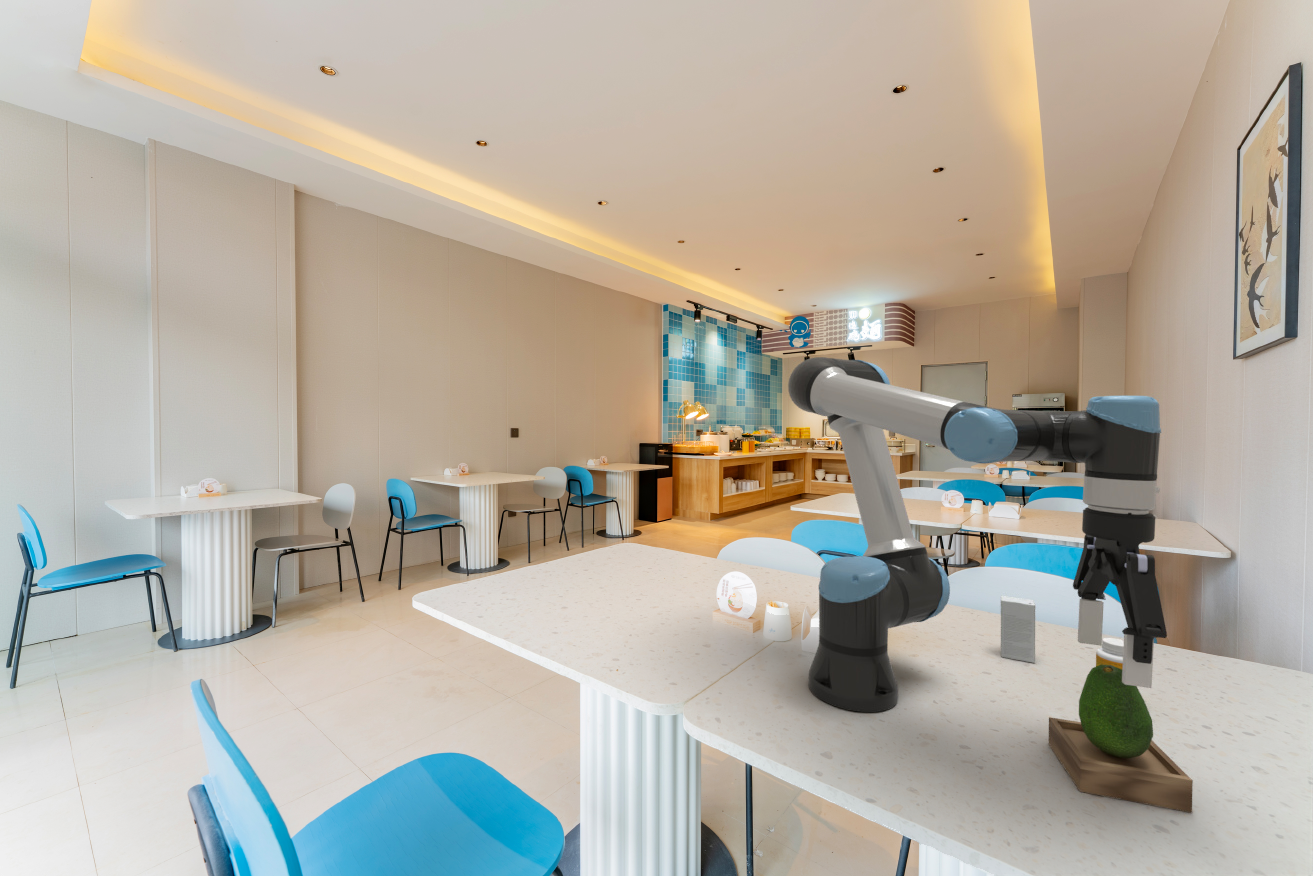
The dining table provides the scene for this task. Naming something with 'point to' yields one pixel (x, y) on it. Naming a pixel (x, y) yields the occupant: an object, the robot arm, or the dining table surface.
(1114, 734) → the avocado
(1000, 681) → the dining table surface
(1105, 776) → the wooden tray
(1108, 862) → the dining table surface
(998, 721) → the dining table surface
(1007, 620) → the skincare box
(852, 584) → the robot arm
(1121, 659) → the supplement bottle
